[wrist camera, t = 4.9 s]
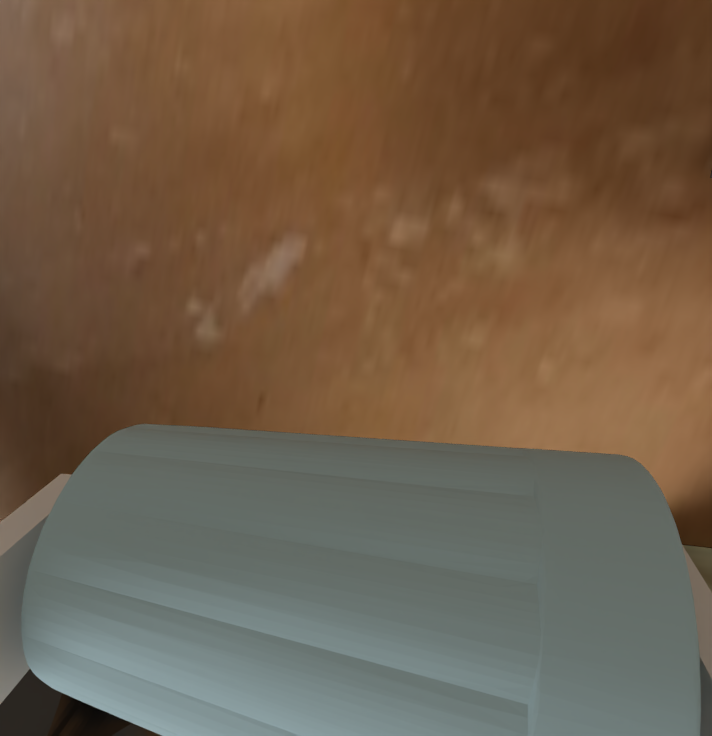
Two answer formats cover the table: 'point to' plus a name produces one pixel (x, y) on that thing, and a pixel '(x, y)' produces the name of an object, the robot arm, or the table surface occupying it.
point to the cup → (363, 589)
